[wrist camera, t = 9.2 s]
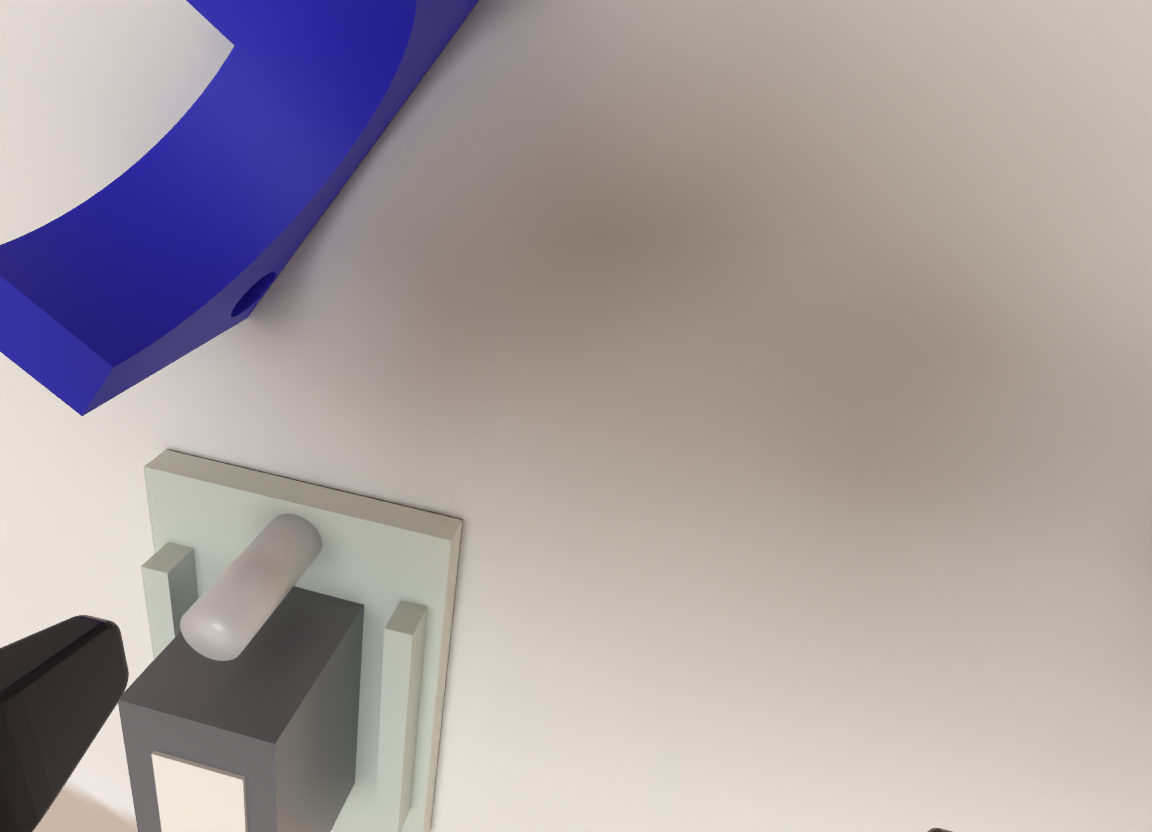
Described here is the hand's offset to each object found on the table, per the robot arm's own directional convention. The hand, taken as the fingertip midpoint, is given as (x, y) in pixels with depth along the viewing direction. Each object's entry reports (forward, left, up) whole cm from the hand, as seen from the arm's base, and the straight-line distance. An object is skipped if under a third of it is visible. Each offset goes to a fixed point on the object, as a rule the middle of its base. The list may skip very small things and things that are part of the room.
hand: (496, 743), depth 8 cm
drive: (+8, +13, -11) cm, 19 cm away
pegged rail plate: (+8, +13, -12) cm, 19 cm away
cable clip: (+8, -5, -12) cm, 16 cm away
